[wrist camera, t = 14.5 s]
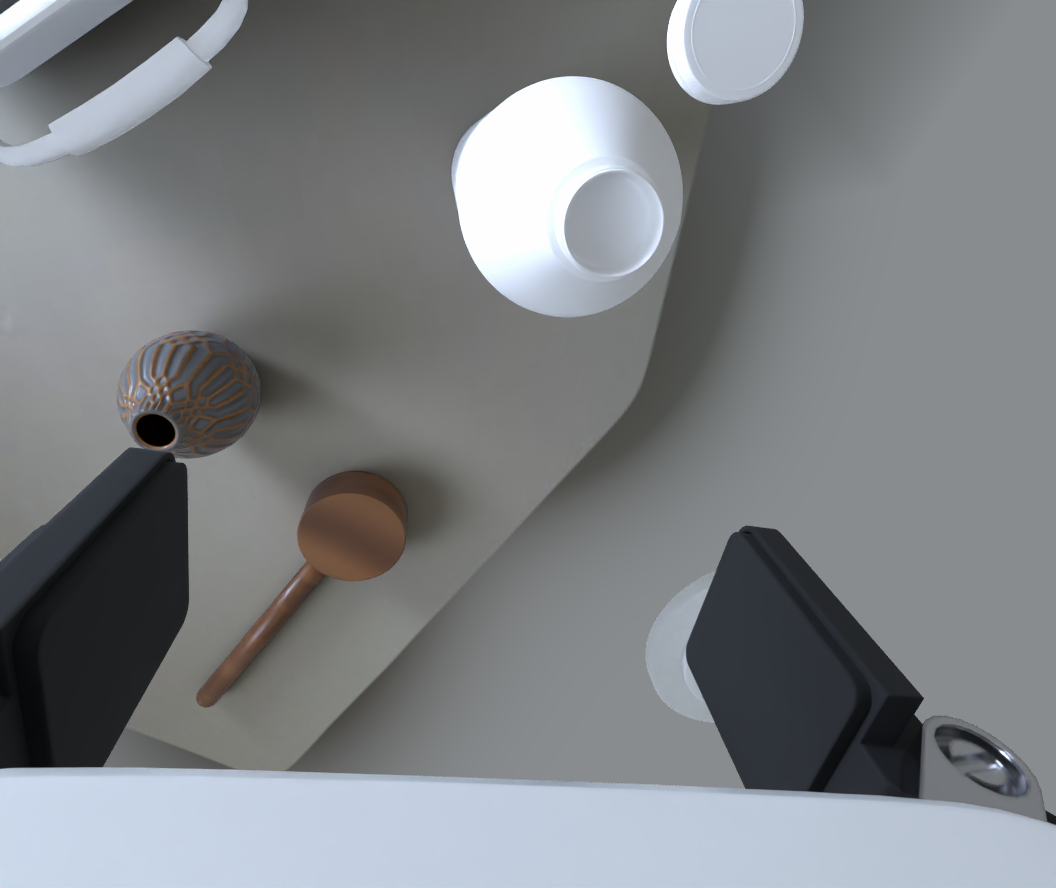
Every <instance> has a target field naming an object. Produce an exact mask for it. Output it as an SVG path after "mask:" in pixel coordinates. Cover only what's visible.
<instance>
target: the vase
mask: <svg viewBox="0 0 1056 888" xmlns="http://www.w3.org/2000/svg"><path fill="white" fill-rule="evenodd" d="M260 400H261V385H260V379H259V376H258V373H257V370H256V368H255V366H254V364H253V363H252V361H251V360H250V358H249V357H248V356H247V355H246V353H245V352H244V351H243V350H242V349H241V348H239V347H238V346H237V345H236V344H234V343H233V342H231V341H229V340H227V339H225V338H223V337H221V336H219V335H216V334H213V333H209V332H203V331H180V332H174V333H170V334H167V335H164V336H162V337H159V338H157V339H155V340H153V341H151V342H150V343H148V344H146V345H145V346H144V347H142V348H141V349H140V350H139V351H137V352H136V353H135V354H134V356H133V357H132V358H131V359H130V360H129V362H128V363H127V365H126V367H125V369H124V370H123V372H122V375H121V378H120V381H119V384H118V390H117V404H118V410H119V413H120V416H121V418H122V421H123V423H124V424H125V426H126V428H127V429H128V431H129V432H130V434H131V436H132V438H133V439H134V441H135V442H136V443H137V444H138V445H139V446H141V447H142V448H144V449H148V450H156V451H164V452H171V453H172V454H173V455H174V457H175V458H186V459H188V458H199V457H204V456H208V455H211V454H214V453H217V452H219V451H221V450H223V449H225V448H227V447H229V446H230V445H232V444H233V443H235V442H236V441H237V440H239V439H240V438H241V437H242V436H243V435H244V434H245V432H246V431H247V430H248V429H249V427H250V426H251V424H252V422H253V421H254V419H255V417H256V414H257V412H258V409H259V406H260Z"/></svg>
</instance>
